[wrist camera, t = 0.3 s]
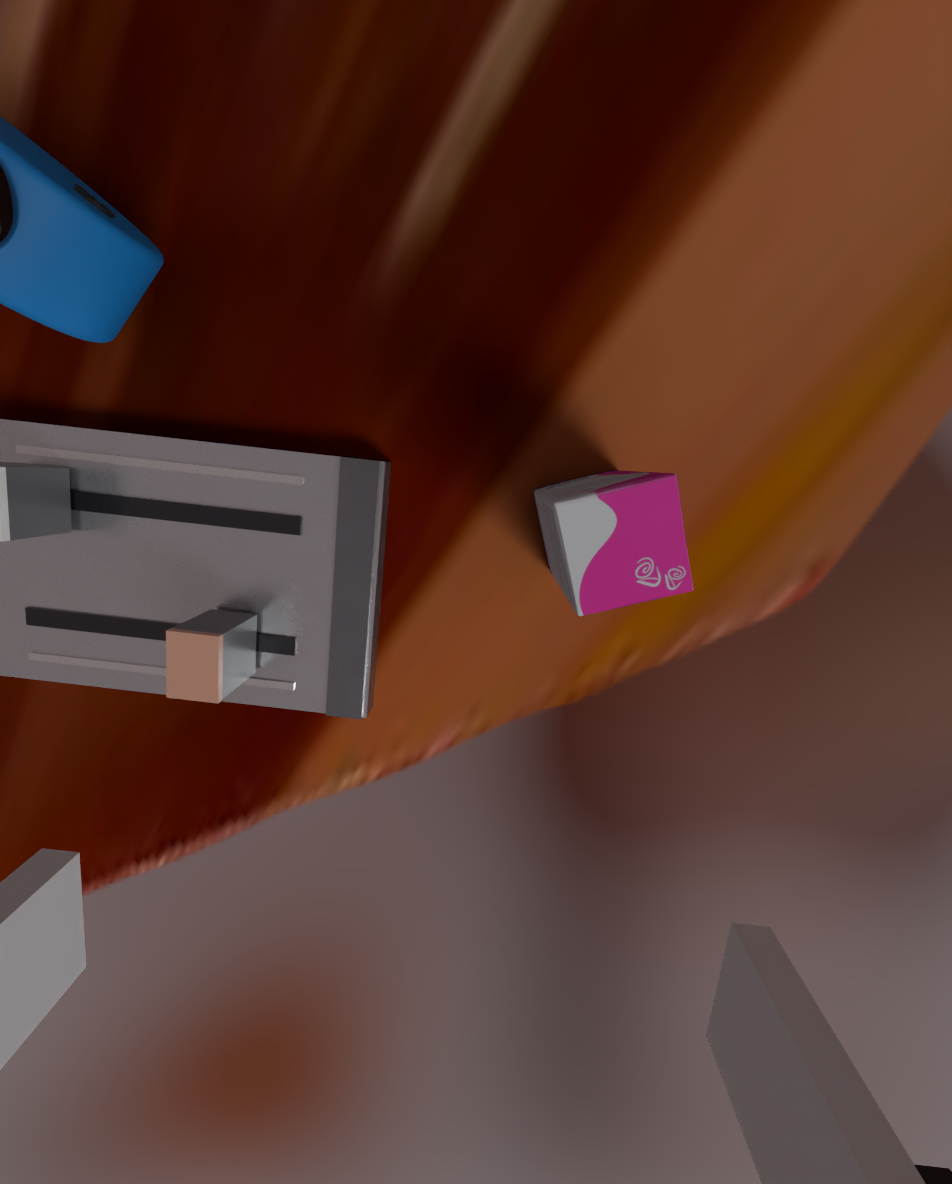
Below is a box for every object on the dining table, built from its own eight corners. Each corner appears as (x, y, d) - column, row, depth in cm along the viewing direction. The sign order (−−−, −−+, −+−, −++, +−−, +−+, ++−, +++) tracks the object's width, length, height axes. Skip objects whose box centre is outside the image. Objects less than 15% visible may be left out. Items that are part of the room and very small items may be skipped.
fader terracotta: (211, 609, 36) (165, 630, 31) (257, 614, 36) (218, 636, 31) (210, 667, 37) (166, 697, 32) (255, 672, 37) (218, 703, 32)
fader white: (21, 462, 35) (-59, 460, 30) (69, 468, 35) (-3, 466, 30) (25, 527, 36) (-52, 535, 31) (71, 532, 36) (2, 541, 31)
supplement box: (550, 576, 38) (573, 619, 26) (531, 488, 36) (548, 495, 25) (636, 556, 37) (697, 592, 26) (620, 467, 36) (677, 464, 25)
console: (-4, 418, 37) (-36, 414, 34) (391, 462, 36) (384, 461, 34) (13, 664, 40) (-16, 675, 38) (372, 706, 40) (365, 720, 38)
